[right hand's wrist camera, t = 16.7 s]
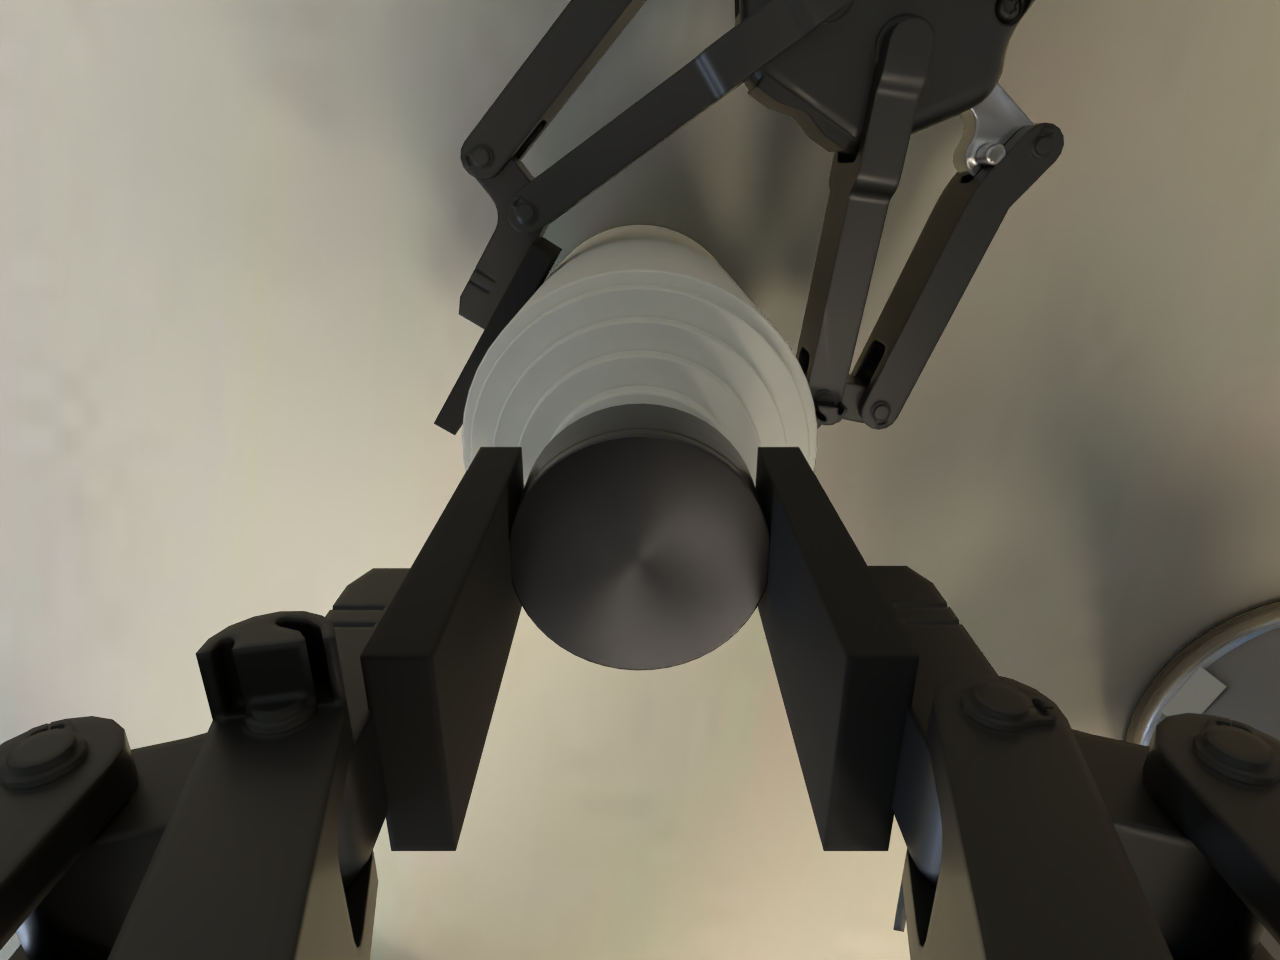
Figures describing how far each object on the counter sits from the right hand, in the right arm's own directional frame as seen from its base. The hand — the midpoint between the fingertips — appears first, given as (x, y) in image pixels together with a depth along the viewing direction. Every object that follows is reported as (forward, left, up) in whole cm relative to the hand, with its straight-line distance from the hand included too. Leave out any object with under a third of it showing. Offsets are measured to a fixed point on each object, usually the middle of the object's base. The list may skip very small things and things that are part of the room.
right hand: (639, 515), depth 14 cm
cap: (0, 0, +2) cm, 2 cm away
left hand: (-2, +4, -12) cm, 13 cm away
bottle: (0, 0, -18) cm, 18 cm away
